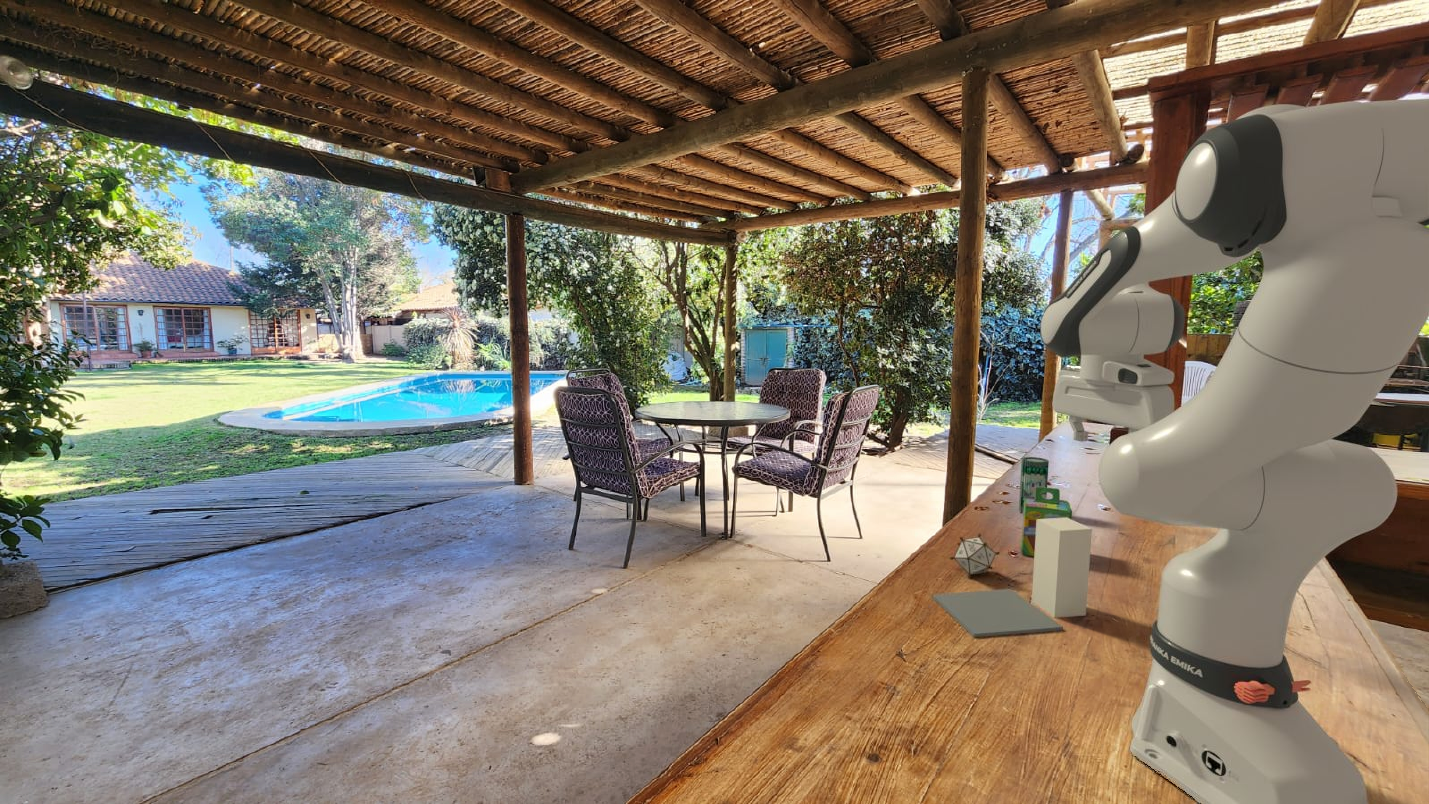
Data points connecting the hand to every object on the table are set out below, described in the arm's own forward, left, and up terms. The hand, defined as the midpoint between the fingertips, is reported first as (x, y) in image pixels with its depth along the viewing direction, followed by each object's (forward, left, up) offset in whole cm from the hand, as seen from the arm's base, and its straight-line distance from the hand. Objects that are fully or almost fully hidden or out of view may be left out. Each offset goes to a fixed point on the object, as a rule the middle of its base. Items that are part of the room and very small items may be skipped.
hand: (1103, 446), depth 99 cm
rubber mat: (0, +19, -30) cm, 35 cm away
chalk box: (+24, -8, -30) cm, 39 cm away
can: (+49, -23, -30) cm, 62 cm away
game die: (+15, +14, -30) cm, 36 cm away
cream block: (0, +7, -30) cm, 31 cm away
